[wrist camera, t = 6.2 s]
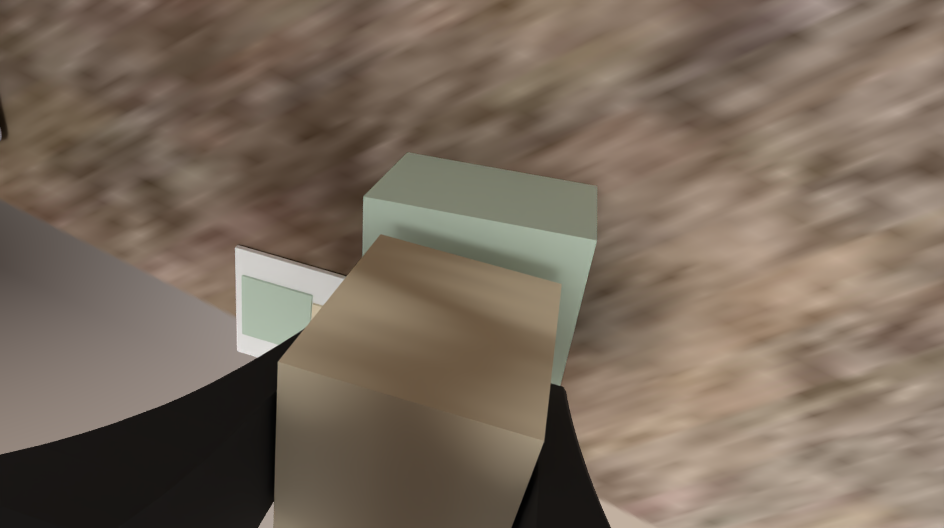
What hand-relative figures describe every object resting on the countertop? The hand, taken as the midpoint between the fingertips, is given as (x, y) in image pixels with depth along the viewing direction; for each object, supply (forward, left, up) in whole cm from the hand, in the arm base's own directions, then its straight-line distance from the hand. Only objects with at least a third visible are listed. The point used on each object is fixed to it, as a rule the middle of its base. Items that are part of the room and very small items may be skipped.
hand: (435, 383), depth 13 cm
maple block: (0, 0, -2) cm, 2 cm away
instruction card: (-6, -5, -7) cm, 10 cm away
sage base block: (0, 0, -7) cm, 7 cm away
